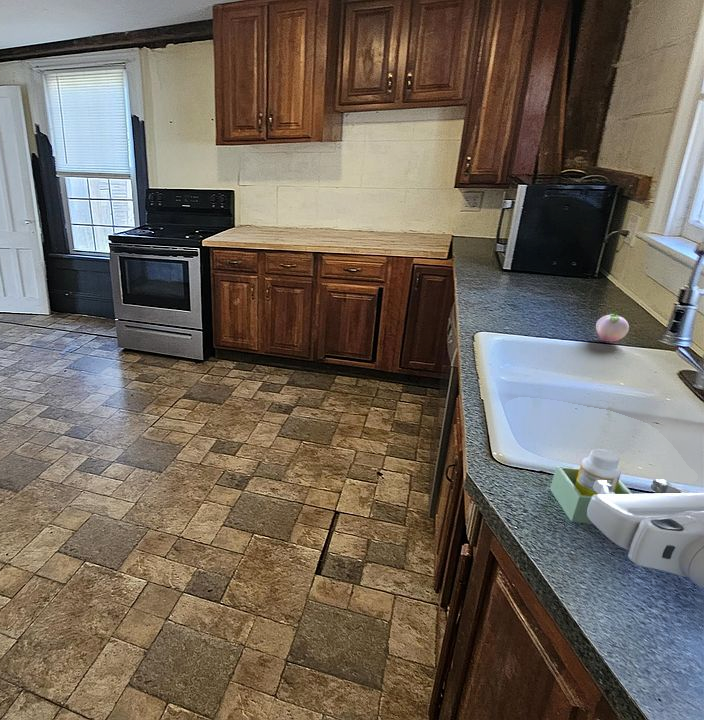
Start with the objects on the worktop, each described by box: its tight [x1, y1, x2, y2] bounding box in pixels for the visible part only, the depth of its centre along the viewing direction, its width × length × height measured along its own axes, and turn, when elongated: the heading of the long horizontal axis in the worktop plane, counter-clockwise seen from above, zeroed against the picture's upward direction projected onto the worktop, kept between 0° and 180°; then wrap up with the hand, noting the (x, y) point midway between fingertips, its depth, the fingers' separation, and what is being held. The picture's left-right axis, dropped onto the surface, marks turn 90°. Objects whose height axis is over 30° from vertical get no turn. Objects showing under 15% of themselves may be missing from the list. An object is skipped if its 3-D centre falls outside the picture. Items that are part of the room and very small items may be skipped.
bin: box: [549, 465, 633, 525], centre depth 91 cm, size 9×9×5 cm
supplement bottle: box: [575, 448, 622, 496], centre depth 90 cm, size 6×6×10 cm
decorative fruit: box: [595, 312, 630, 343], centre depth 167 cm, size 9×8×10 cm
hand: (627, 483), depth 83 cm, fingers open, 8 cm apart
